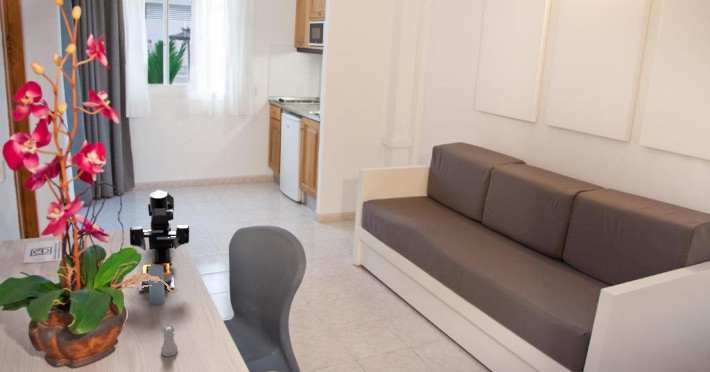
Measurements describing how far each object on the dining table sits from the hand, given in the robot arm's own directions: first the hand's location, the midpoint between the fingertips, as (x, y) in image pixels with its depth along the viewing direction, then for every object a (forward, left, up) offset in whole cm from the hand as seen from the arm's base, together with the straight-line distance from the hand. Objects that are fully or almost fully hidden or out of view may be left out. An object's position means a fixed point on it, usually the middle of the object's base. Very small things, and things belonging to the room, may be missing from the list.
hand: (160, 248), depth 184 cm
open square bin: (-8, -2, -16) cm, 18 cm away
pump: (+5, -2, -16) cm, 17 cm away
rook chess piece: (+35, +1, -16) cm, 39 cm away
